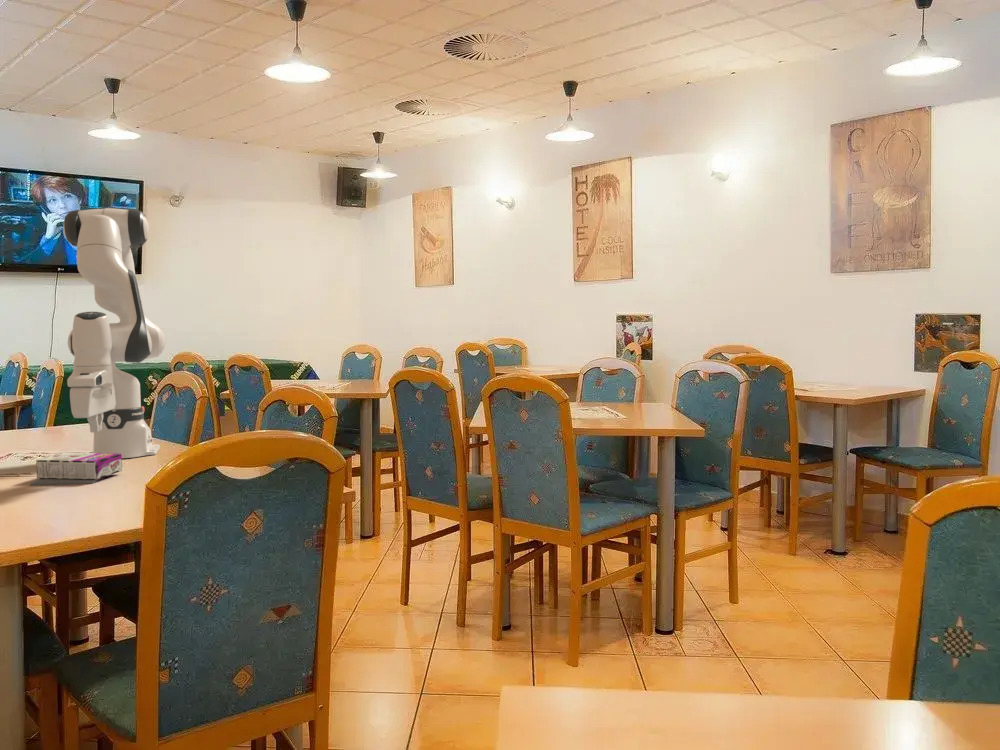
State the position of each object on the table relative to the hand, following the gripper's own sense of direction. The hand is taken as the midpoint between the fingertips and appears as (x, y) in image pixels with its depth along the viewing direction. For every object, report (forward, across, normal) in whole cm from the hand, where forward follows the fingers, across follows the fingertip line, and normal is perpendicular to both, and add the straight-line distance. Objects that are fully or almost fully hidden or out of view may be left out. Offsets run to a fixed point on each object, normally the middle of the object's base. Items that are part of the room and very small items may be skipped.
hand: (96, 431), depth 207 cm
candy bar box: (+9, 0, +3) cm, 10 cm away
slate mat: (+12, 0, -6) cm, 14 cm away
